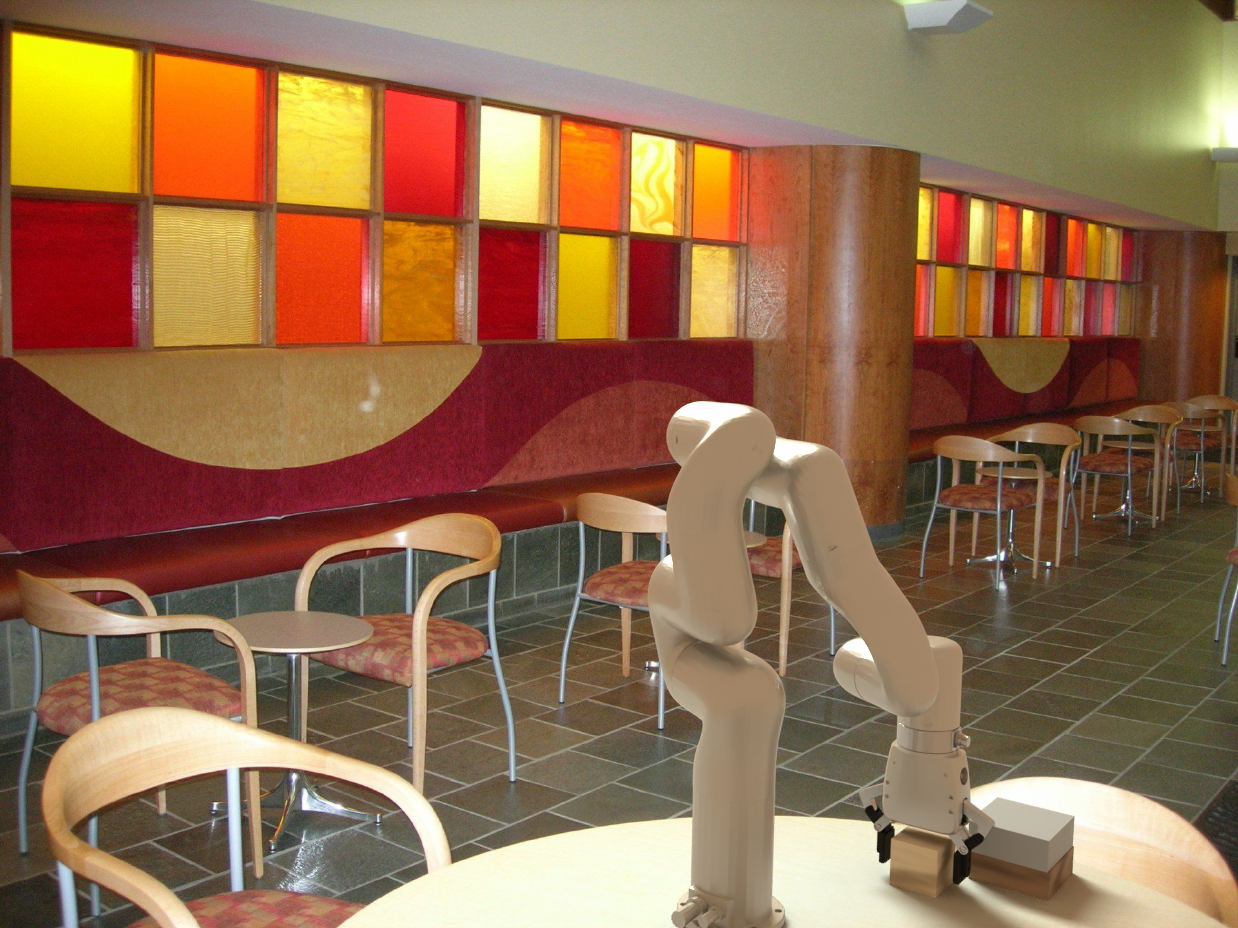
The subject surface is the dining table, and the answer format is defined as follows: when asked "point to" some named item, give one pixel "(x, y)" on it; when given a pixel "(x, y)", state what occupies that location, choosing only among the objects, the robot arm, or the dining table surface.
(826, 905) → the dining table surface
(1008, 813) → the tower top
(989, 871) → the tower base
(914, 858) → the block
